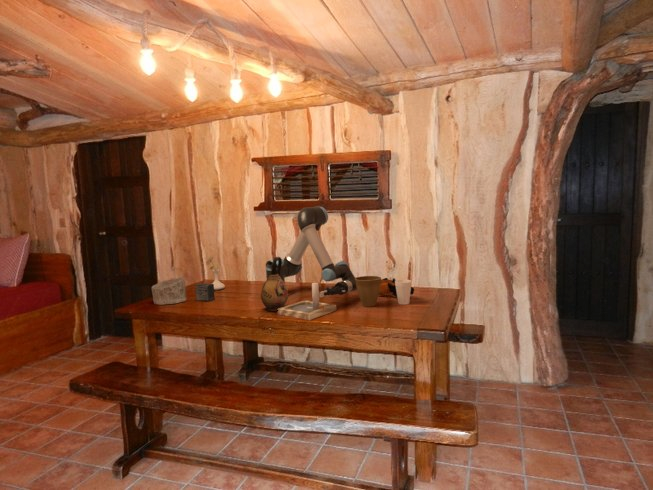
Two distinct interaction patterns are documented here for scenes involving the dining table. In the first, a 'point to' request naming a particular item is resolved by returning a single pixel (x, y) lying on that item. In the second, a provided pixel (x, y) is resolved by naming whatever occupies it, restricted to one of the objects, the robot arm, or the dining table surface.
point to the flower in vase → (216, 282)
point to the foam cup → (403, 291)
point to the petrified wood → (169, 291)
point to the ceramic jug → (274, 287)
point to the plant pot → (368, 289)
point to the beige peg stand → (315, 299)
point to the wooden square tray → (321, 311)
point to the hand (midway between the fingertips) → (319, 295)
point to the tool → (389, 288)
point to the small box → (204, 292)
